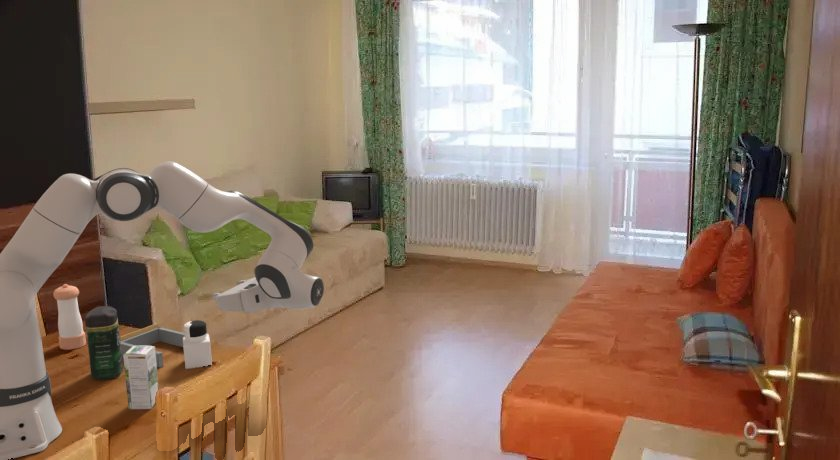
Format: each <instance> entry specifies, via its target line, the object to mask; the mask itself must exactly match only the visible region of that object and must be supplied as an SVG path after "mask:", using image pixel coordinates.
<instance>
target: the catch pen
mask: <svg viewBox="0 0 840 460" xmlns="http://www.w3.org/2000/svg"><path fill="white" fill-rule="evenodd" d="M183 337H185V336H184V332H182V331H177V330H174V329H170V328H167V327H166V328H165V327H162V326H161V327H160V325H159V322H157V323H153V324H152V325H148V326H146V327H143V328H140V329H138V330H134V331H132V332H129V333H127V334H123V335H121V336H120V345H121V354H122V358H124V357H123V355H124V354H125V353H126V352H127V351H128V350H129V349H130V348H132V347H133V346H139V345H147V346H152V345H153V344H156V343H158V342H162V343H166V344H169V345H173V346H177V347H182V348H183ZM155 353H156V364H157V368H163V367H164V357H163V352H162V351H158V350H155Z"/></svg>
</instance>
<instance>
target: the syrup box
mask: <svg viewBox="0 0 840 460" xmlns="http://www.w3.org/2000/svg"><path fill="white" fill-rule="evenodd" d="M155 351H156V346H154V345H153V346H152V345H148V346H147V345H139V346H133V347H132V348H130V349H129V350H128V351H127V352H126V353H125V354H124V355H123V357H122V358H123V369H124V376H125V385H126V386H125V387H126V397H127V409H129V410H152V408H154V406H155V405H156V404H155V396H156V392H157V391H158V390H159V389H160V388H159V387H160V385H159V377H158V375H159V374H158V367H157V364H156V353H155ZM159 391H160V390H159Z"/></svg>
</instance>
